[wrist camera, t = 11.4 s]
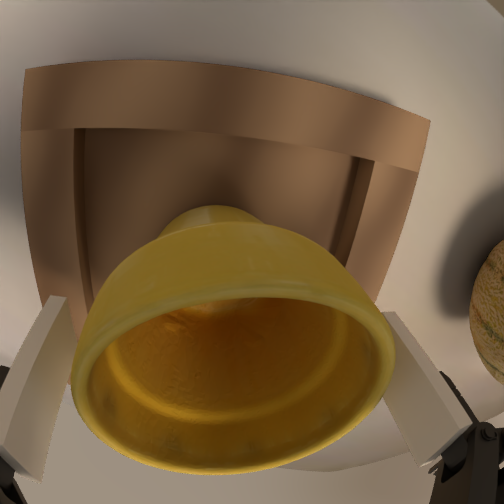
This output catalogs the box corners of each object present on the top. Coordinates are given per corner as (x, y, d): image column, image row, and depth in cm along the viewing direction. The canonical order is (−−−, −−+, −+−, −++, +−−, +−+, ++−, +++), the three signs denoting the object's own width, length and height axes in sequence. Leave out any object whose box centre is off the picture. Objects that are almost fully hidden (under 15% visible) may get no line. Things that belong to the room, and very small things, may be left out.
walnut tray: (399, 114, 16) (430, 120, 13) (321, 363, 25) (333, 389, 22) (52, 72, 12) (25, 69, 9) (77, 356, 20) (68, 384, 18)
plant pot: (319, 305, 19) (385, 433, 11) (167, 349, 19) (164, 488, 11) (289, 143, 14) (412, 219, 6) (92, 207, 14) (-3, 340, 6)
